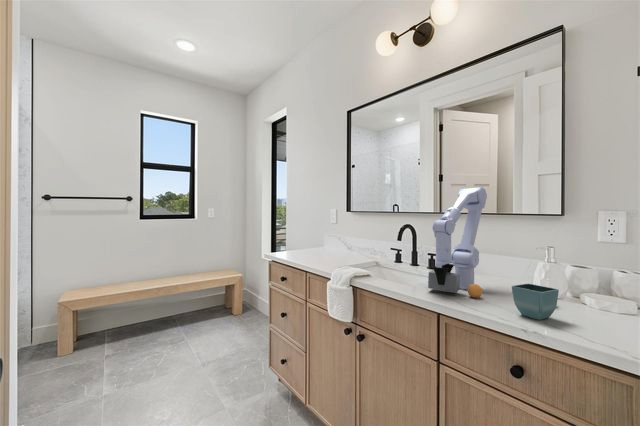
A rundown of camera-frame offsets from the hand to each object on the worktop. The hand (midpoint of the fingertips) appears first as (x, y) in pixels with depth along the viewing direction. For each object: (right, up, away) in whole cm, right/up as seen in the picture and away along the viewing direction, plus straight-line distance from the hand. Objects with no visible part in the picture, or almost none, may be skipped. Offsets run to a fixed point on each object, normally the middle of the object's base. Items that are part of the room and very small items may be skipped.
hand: (443, 283), depth 113 cm
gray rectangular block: (0, -2, 0) cm, 2 cm away
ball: (+9, -1, -7) cm, 11 cm away
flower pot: (+16, -4, -27) cm, 32 cm away
